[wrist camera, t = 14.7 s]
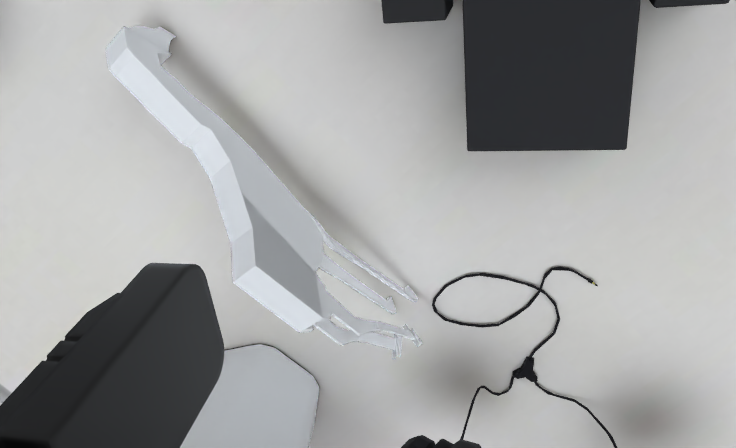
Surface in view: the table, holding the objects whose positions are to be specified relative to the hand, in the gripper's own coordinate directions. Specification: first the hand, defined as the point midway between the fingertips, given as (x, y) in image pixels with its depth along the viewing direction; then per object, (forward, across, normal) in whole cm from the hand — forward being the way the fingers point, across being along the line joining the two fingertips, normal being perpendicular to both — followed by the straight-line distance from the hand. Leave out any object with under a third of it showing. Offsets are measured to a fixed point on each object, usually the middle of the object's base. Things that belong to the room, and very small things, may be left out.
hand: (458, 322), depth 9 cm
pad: (+20, -2, 0) cm, 20 cm away
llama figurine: (+20, +10, +7) cm, 23 cm away
